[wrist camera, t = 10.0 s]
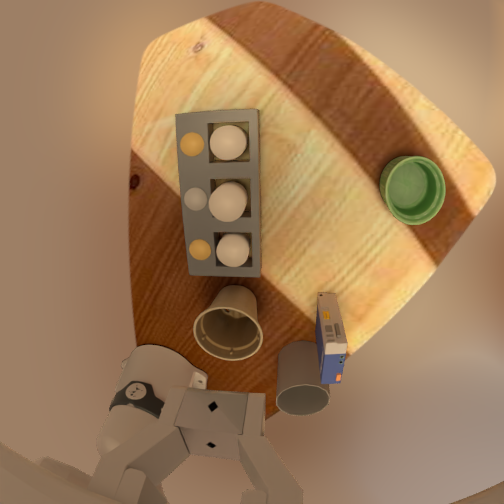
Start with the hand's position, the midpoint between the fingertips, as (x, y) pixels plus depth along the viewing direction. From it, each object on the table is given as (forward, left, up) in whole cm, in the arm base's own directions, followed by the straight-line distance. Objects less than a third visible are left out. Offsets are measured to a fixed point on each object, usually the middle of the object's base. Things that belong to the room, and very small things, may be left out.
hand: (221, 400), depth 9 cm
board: (-1, +6, -33) cm, 34 cm away
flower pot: (-18, +5, -33) cm, 38 cm away
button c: (+6, +4, -33) cm, 34 cm away
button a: (-8, +5, -33) cm, 34 cm away
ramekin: (+1, -19, -34) cm, 38 cm away
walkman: (-20, -9, -33) cm, 40 cm away
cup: (-30, -6, -33) cm, 45 cm away
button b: (-1, +4, -31) cm, 31 cm away
